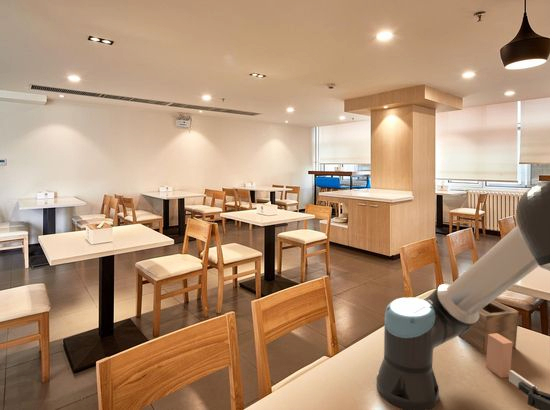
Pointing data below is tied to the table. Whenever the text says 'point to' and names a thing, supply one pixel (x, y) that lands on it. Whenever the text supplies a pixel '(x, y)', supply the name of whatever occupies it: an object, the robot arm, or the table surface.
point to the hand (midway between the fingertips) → (533, 371)
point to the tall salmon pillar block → (499, 355)
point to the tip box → (492, 325)
